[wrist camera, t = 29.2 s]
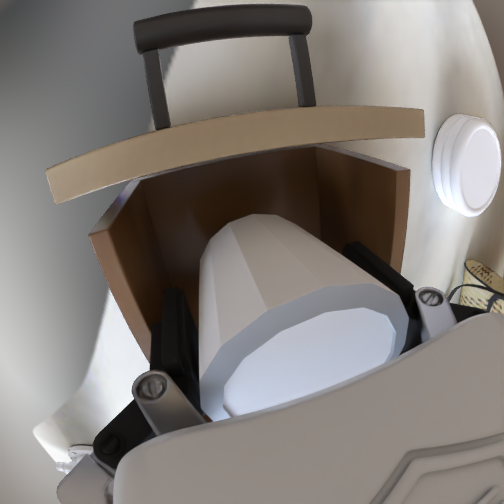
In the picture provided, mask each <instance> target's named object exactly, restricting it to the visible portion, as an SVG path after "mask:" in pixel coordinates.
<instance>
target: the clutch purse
mask: <svg viewBox="0 0 504 504" xmlns="http://www.w3.org/2000/svg"><path fill="white" fill-rule="evenodd" d="M464 265H465V271H464V279H463V285H461V286H458V287H456V288H455V289H454V290H452V292H451V293H450V295H449V296H448V298H447V300H448V302H450V300H451V298H452V296H453V295H454V293H455V292H456V291H457V289H459V288H460V287H462V292H461V297H460V303H459V305H464V306H470V307H476V308H480V309H483V310H485V311H486V312H487V313H491V312H496V313H501V314H504V279H503V278H502V277H500V276H499V275H498V274H496V273H495V272H494V271H492V270H491V269H490V268H488V267H486V266H485V265H483V264H482V263H480V262H478V261H475V260H466V261H465V263H464Z"/></svg>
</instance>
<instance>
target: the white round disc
mask: <svg viewBox="0 0 504 504" xmlns="http://www.w3.org/2000/svg"><path fill="white" fill-rule="evenodd" d="M501 161H502V160H501V148H500V143H499V139H498V137H497V134H496V132H495V130H494V128H493V127H492V125H491V124H490V123H489V122H488V121H487V120H485V119H483V118H481V117H474V116H470V115H465V114H456V115H453V116H451V117H449V118H448V119H447V120H446V121H445V122H444V123H443V125H442V127H441V128H440V130H439V132H438V135H437V138H436V141H435V144H434V149H433V156H432V174H433V181H434V186H435V189H436V192H437V194H438V196H439V198H440V200H441V201H442V202H443V203H444V204H445V205H446V206H447V207H449V208H453V209H454V210H455V211H457V212H461V213H462V214H463V215H465V216H469V217H475V216H477V215H479V214H481V213H482V212H483V211H484V210H485V209H486V208H487V207H488V206H489V205H490V203H491V201H492V200H493V198H494V195H495V193H496V190H497V188H498V184H499V180H500V174H501Z"/></svg>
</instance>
